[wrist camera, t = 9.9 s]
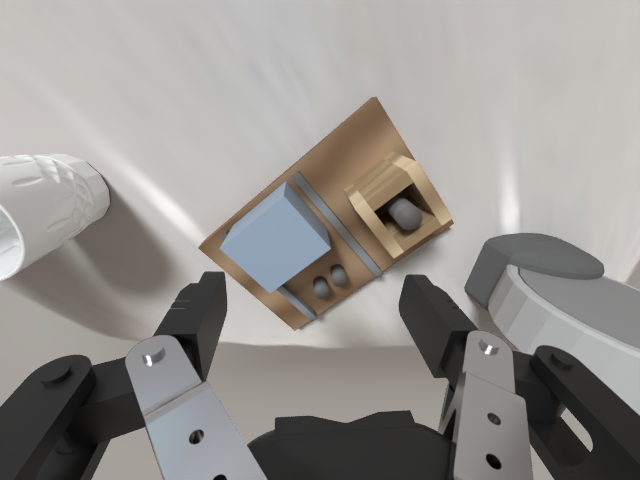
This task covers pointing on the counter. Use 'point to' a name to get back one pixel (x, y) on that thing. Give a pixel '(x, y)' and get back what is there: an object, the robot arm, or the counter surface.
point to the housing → (277, 238)
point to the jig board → (332, 218)
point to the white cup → (45, 206)
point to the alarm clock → (561, 306)
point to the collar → (384, 186)
